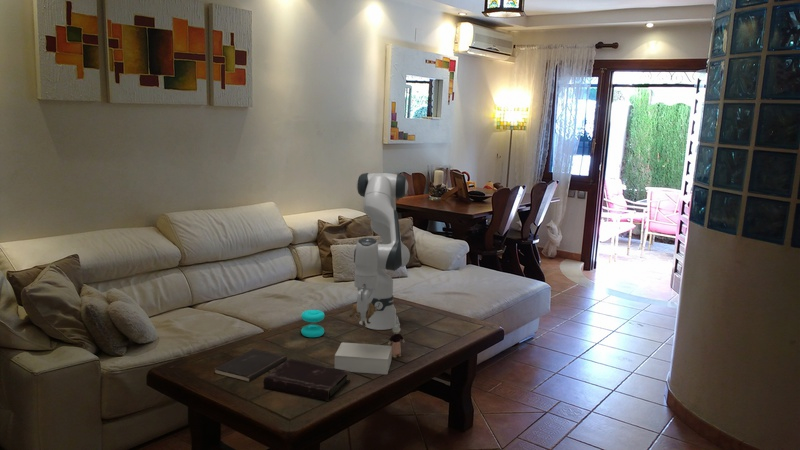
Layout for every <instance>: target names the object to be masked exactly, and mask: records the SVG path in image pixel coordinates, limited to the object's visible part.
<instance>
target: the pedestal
mask: <svg viewBox="0 0 800 450" xmlns="http://www.w3.org/2000/svg"><path fill="white" fill-rule="evenodd" d="M392 358H393V357H392V345H387V344H386V345H383V344H382V345H381V344H373V343H372V344H370V343H369V344H368V343H357V342H356V343H354V342H344V341H343V342H341V343H340V345H339V346H338V349H337V351H336V352H335V354H334V367H333V368H336V369H341V370H346V371H350V372H349V373H360V374H361V373H363V374H372V375H375V374H376V375H388V374H389V369H390V367H391V362H392Z"/></svg>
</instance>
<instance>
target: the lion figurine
mask: <svg viewBox="0 0 800 450" xmlns="http://www.w3.org/2000/svg"><path fill="white" fill-rule="evenodd" d="M376 310H377V307H375V306H373V304H372V303H369V308H368V310H367V312H366V318H367V324H370V322H369V318H370V317H371V316H372V315H373V314H374V312H376ZM349 317H350V318H351V317H352V320H353V322H354V323H357V319H358V318H359V317H361V314H360V312H357V303H354V304H353V306H352V314H350V315H349ZM362 324H363V325H362V327H365V326H366V325H365V321H362Z"/></svg>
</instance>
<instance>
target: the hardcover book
mask: <svg viewBox="0 0 800 450" xmlns="http://www.w3.org/2000/svg"><path fill="white" fill-rule="evenodd" d="M287 360H288V357H287V356H286V355H282V354H280V353H279V354H278V353H274V352H269V351H264V350H261V349H257V348H252V349H251V350H248V351H247V352H244V353H242V354H240V355H239V356H237V357H236V356H235V358H233V359H231V360H229V361H226V362H224V363H222V364H220V365H219V366H217V367H214V368H213V370H215V371H214V372H215V374H217V375H222V376H226V377H230V378H234V379H236V380H241V381H245V382H248V383H251V382H252V381H253V380H255V379H257V378H259V377H261V376H263V375H265V374H266V373H268V372H271V370H274V369H275V368H277V367H278V366H279V365H281V364H282V363H284V362H285V361H287Z"/></svg>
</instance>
